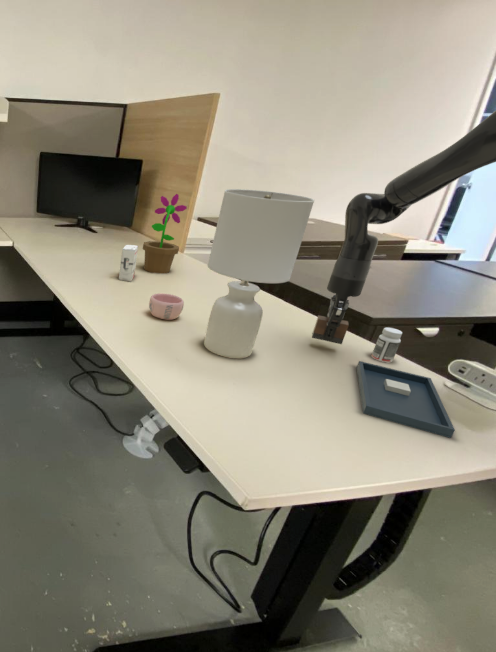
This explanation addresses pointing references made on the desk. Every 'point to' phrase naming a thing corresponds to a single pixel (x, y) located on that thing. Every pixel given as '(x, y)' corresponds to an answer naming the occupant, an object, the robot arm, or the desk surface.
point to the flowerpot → (162, 252)
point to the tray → (403, 399)
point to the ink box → (128, 262)
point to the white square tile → (397, 387)
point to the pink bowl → (165, 306)
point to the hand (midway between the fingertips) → (327, 336)
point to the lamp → (251, 261)
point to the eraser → (321, 328)
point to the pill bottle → (387, 345)
